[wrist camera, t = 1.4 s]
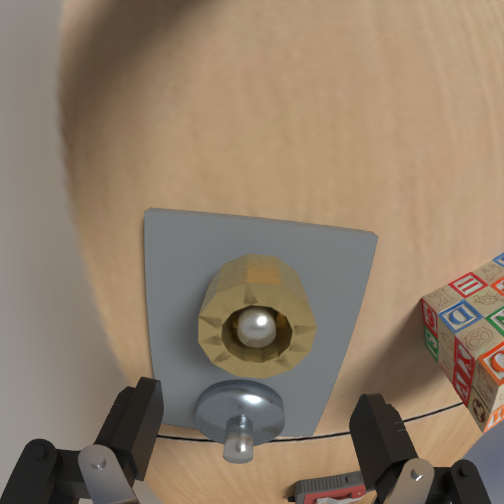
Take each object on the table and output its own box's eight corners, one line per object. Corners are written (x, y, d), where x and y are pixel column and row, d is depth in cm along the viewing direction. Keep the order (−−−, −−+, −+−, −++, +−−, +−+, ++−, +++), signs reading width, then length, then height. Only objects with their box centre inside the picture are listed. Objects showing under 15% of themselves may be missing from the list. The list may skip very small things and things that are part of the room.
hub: (197, 374, 23) (185, 424, 18) (290, 382, 23) (297, 433, 18) (198, 427, 26) (190, 471, 20) (276, 433, 26) (278, 478, 21)
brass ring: (211, 249, 17) (199, 276, 14) (312, 259, 18) (326, 288, 14) (207, 333, 19) (197, 371, 16) (295, 341, 19) (302, 380, 16)
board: (150, 207, 20) (144, 211, 19) (372, 231, 20) (378, 236, 19) (163, 415, 27) (161, 423, 26) (311, 428, 27) (312, 436, 26)
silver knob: (225, 250, 20) (214, 289, 14) (294, 257, 20) (308, 298, 14) (221, 310, 21) (211, 361, 16) (284, 316, 21) (292, 367, 16)
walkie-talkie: (286, 498, 35) (397, 477, 35) (288, 518, 31) (403, 495, 31) (288, 479, 32) (413, 454, 32) (289, 503, 28) (421, 474, 28)
